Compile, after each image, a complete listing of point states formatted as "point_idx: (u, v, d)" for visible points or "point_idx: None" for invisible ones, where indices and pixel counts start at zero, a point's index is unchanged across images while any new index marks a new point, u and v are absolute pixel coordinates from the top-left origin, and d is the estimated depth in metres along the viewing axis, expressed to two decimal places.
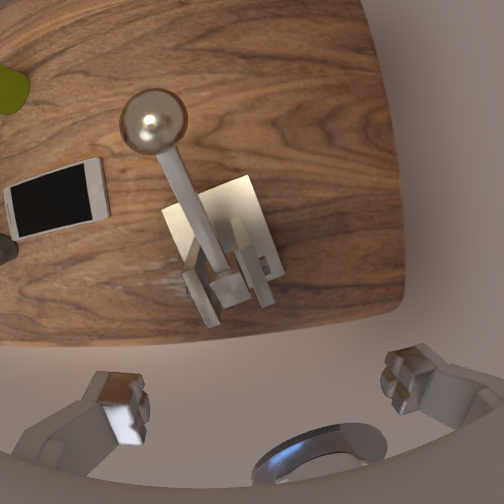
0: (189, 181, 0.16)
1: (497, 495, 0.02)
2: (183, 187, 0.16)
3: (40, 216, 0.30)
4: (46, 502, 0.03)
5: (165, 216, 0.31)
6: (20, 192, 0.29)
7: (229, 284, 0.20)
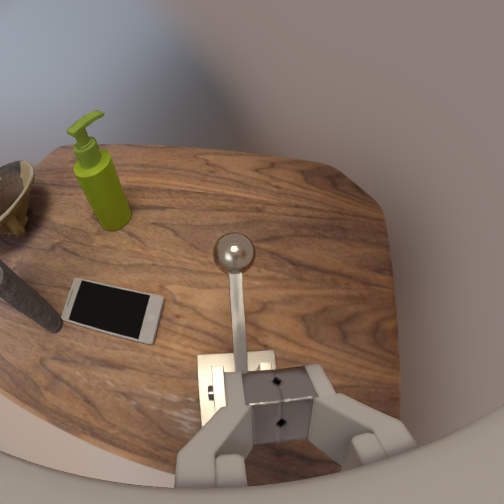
0: (243, 298, 0.25)
1: (497, 495, 0.02)
2: (237, 301, 0.25)
3: (95, 314, 0.39)
4: (46, 502, 0.03)
5: (198, 361, 0.37)
6: (88, 288, 0.41)
7: None
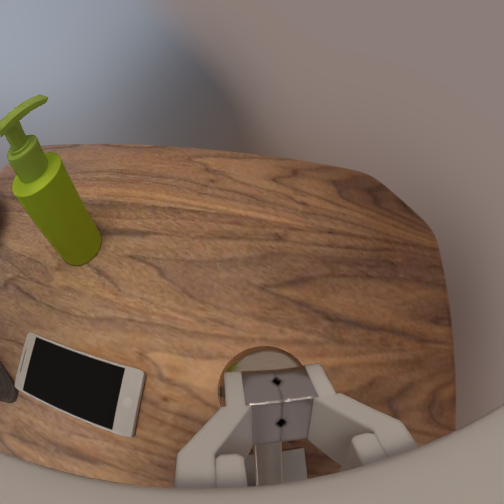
0: (281, 470, 0.10)
1: (497, 495, 0.02)
2: (271, 475, 0.10)
3: (54, 388, 0.24)
4: (46, 502, 0.03)
5: None
6: (44, 350, 0.26)
7: None
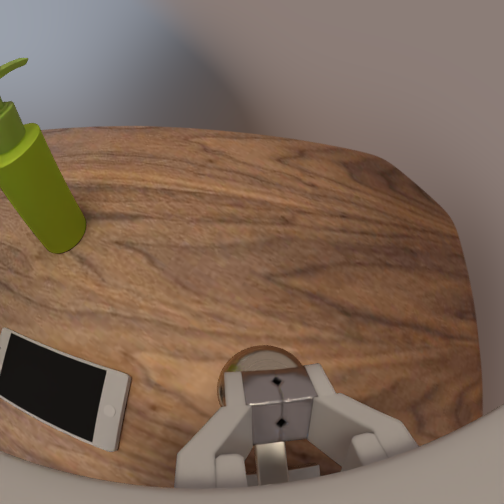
0: (287, 479, 0.09)
1: (497, 495, 0.02)
2: None
3: (29, 391, 0.19)
4: (46, 502, 0.03)
5: None
6: (19, 347, 0.21)
7: None
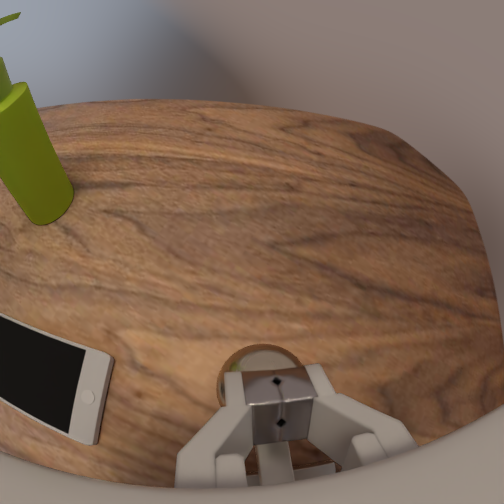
0: (292, 475, 0.08)
1: (497, 495, 0.02)
2: (280, 481, 0.08)
3: (3, 375, 0.16)
4: (46, 502, 0.03)
5: None
6: None
7: None
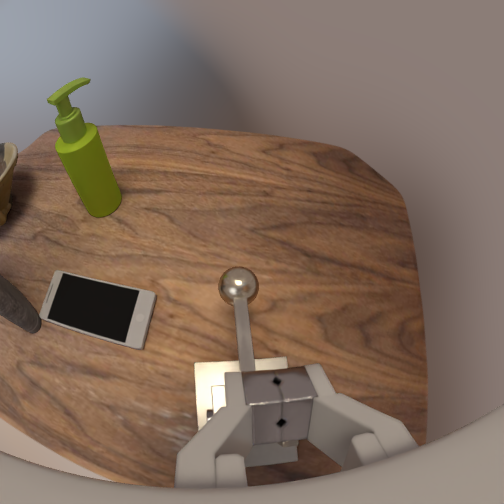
0: (248, 317, 0.24)
1: (497, 495, 0.02)
2: (243, 318, 0.24)
3: (77, 312, 0.32)
4: (46, 502, 0.03)
5: (196, 370, 0.30)
6: (70, 282, 0.34)
7: None
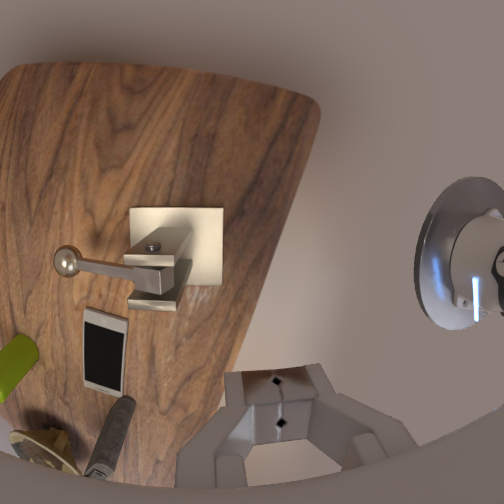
0: (87, 262, 0.27)
1: (497, 495, 0.02)
2: (88, 266, 0.27)
3: (110, 369, 0.41)
4: (46, 502, 0.03)
5: None
6: (90, 374, 0.41)
7: (140, 278, 0.25)
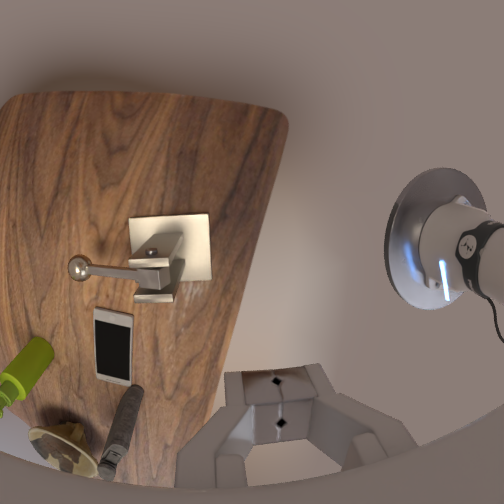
0: (97, 267, 0.34)
1: (497, 495, 0.02)
2: (98, 271, 0.34)
3: (119, 360, 0.48)
4: (46, 502, 0.03)
5: None
6: (101, 367, 0.48)
7: (143, 277, 0.31)
